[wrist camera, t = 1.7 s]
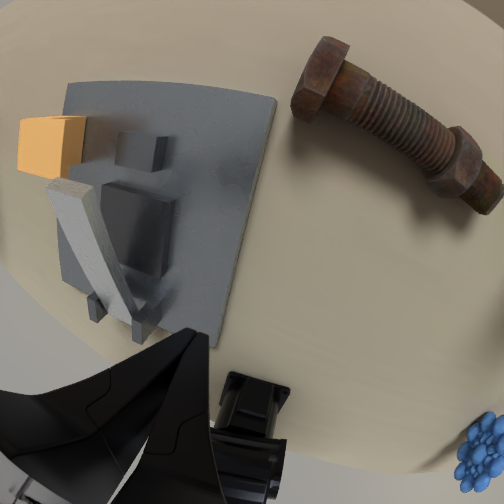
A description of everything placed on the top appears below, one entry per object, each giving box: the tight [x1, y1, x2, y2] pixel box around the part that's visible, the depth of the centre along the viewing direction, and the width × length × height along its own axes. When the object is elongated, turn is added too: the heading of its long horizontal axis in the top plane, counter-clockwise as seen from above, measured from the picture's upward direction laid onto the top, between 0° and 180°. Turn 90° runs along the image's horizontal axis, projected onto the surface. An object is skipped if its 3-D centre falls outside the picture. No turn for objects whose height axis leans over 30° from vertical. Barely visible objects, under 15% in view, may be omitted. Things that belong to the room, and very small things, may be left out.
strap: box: [46, 177, 139, 326], centre depth 17 cm, size 14×3×1 cm, turn 166°
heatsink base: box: [57, 81, 277, 348], centre depth 19 cm, size 20×18×5 cm
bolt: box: [290, 36, 504, 215], centre depth 13 cm, size 6×5×15 cm
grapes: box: [454, 412, 504, 493], centre depth 19 cm, size 12×7×12 cm, turn 164°
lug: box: [18, 116, 87, 180], centre depth 16 cm, size 4×6×5 cm, turn 76°
